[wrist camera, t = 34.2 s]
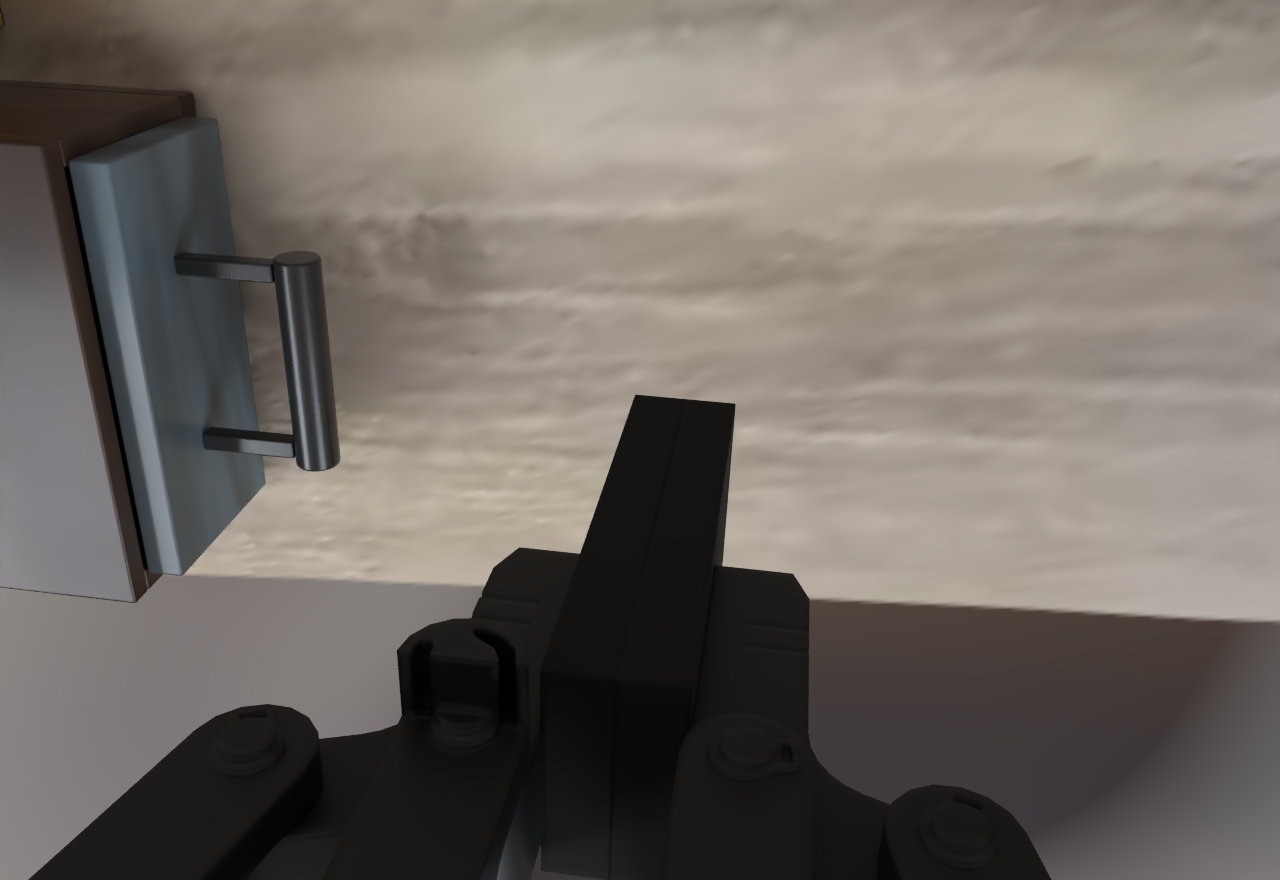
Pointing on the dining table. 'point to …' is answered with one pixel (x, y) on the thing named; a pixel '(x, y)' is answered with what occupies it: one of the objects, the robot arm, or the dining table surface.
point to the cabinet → (61, 350)
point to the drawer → (192, 336)
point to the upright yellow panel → (0, 21)
